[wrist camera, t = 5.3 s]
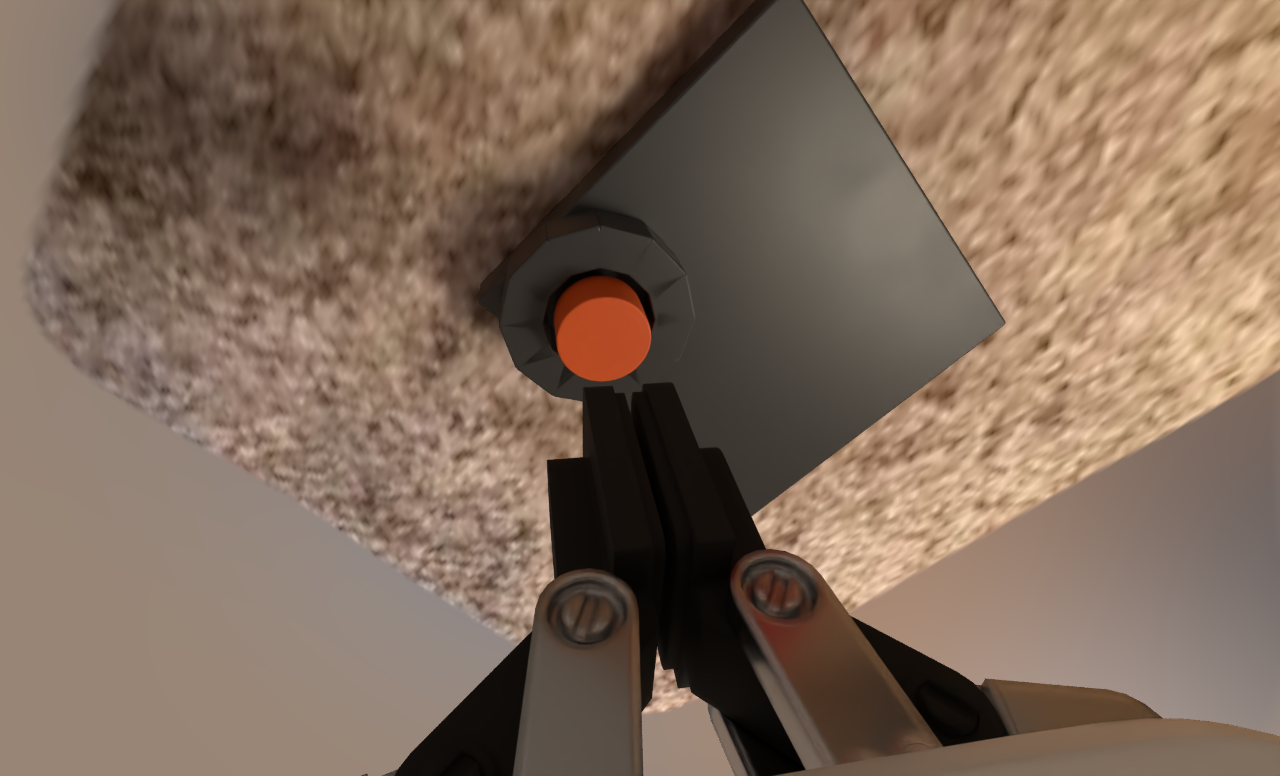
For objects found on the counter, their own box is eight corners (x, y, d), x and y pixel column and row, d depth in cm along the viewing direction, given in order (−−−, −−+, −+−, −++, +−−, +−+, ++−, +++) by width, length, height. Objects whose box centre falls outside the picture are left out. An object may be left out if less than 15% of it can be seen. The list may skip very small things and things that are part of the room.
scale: (467, 285, 20) (460, 327, 17) (767, -27, 17) (811, -31, 14) (734, 499, 27) (757, 551, 24) (983, 307, 24) (1038, 344, 21)
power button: (534, 318, 18) (535, 343, 17) (598, 256, 17) (605, 277, 16) (598, 371, 19) (603, 398, 18) (660, 314, 19) (670, 338, 17)
